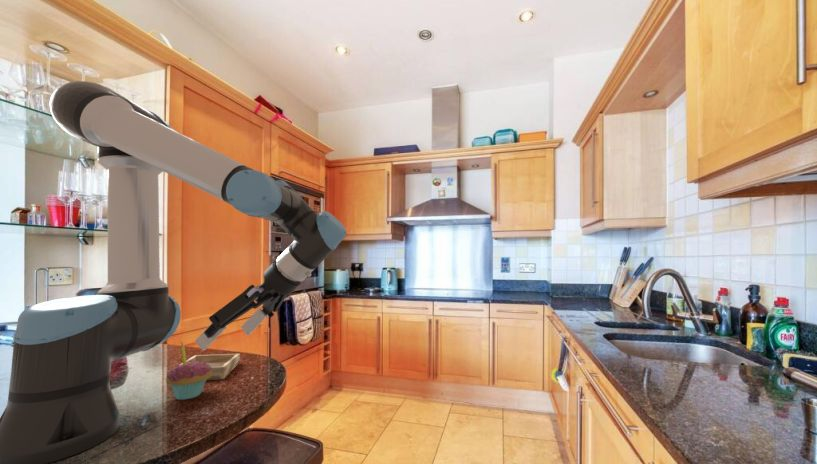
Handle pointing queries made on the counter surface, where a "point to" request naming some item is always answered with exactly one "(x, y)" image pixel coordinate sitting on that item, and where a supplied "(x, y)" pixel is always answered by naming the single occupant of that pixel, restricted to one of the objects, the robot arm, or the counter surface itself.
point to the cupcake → (188, 377)
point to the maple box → (218, 363)
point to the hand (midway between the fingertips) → (224, 337)
